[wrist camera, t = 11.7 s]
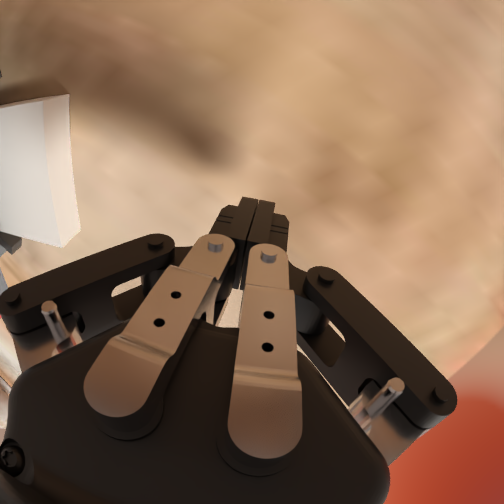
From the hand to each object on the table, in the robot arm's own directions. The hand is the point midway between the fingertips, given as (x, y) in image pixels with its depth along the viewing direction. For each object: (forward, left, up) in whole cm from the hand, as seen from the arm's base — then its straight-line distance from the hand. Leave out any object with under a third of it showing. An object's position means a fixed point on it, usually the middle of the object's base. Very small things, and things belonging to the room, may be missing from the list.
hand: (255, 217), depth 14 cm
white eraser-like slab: (0, -21, -3) cm, 21 cm away
